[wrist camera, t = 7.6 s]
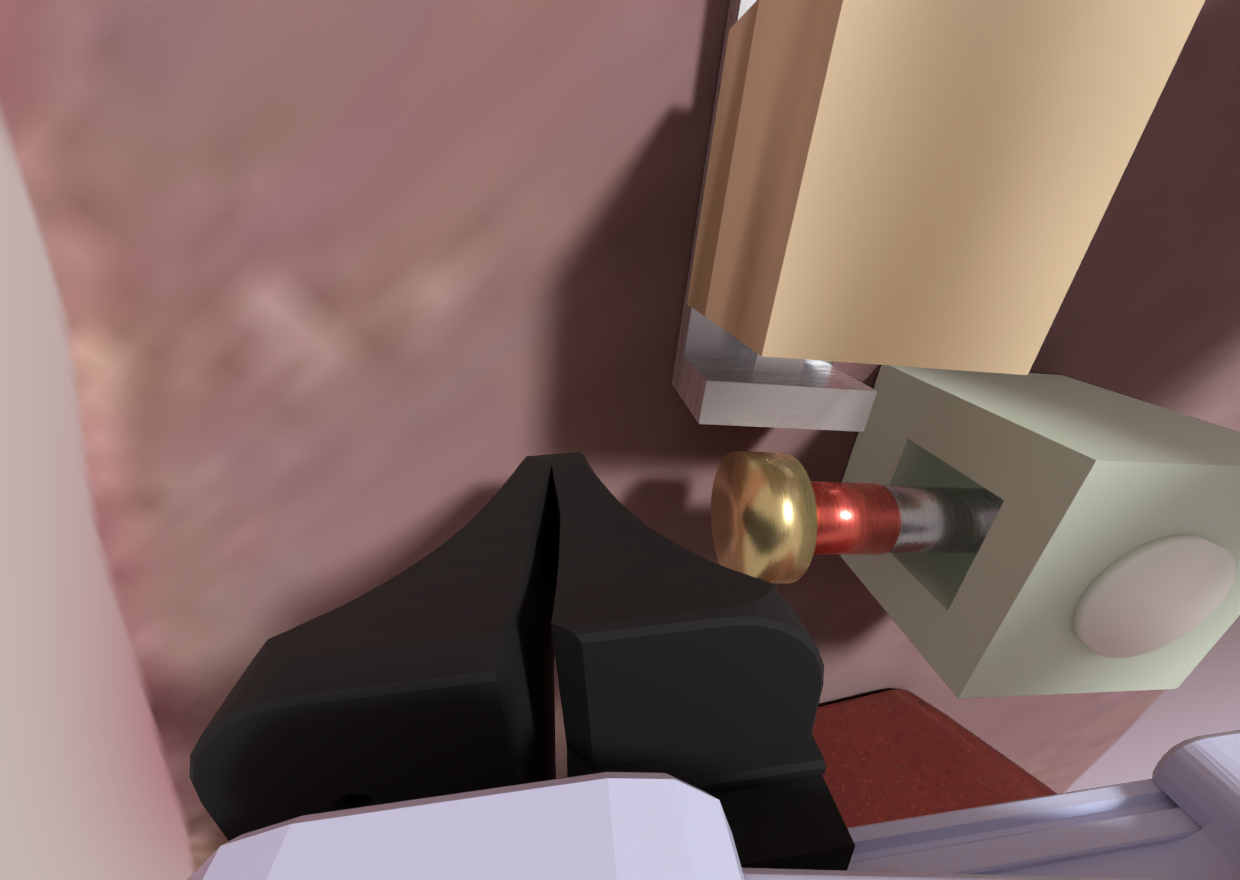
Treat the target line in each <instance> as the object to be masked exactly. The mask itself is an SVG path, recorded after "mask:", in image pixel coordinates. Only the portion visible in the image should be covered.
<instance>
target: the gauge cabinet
mask: <svg viewBox="0 0 1240 880" xmlns="http://www.w3.org/2000/svg"><path fill="white" fill-rule="evenodd" d="M873 389H874V390H876V391H877V394H876V397H875V400H874V403H873V406H872V409H871V412H870V415H869V418H868V421H867V424H866V427H865V429H864V432H858V435H857V438H856V441H855V444H854V447H853V450H852V453H851V456H850V459H849V462H848V465H847V468H846V471H845V474H844V477H843V480H842V482H852V483H877V484H880V485H883V486H917V487H951V488H985V489H987V490H989V491H990V492H992V493H993V494H995V495H997V496H998V497H1000V498H1001V499H1003V500H1004V502H1003V504H1002V506H1001V508H1000V510H999V512H998V514H997V515H996V517H995V519H994V521H993V523H992V525H991V527H990V529H989V531H988V533H987V535H986V537H985V539H984V541H983V543H982V545H981V547H980V549H979V551H978V553H885V554H881V555H852V554H839V555H840V556H841V558H842V559H843V560H844V561H845V562H846V564H847V565H848V566H849V567H850V568H851V570H852V571H853V572H854V573H855V574H856V576H857V577H858V578H859V579H860V581H861V582H862V583H863V584H864V585H865V587H866V588H867V589H868V590H869V591H870V593H871V594H872V595H873V596H874V597H875V599H876V600H877V601H878V602H879V604H880V605H881V606H882V607H883V608H884V610H885V611H886V612H887V613H888V614H889V616H890V617H891V618H892V619H893V621H894V622H895V623H896V624H897V625H898V627H899V628H900V629H901V630H902V631H903V633H904V634H905V635H906V636H907V637H908V639H909V640H910V641H911V642H912V644H913V645H914V646H915V647H916V648H917V650H918V651H919V652H920V653H921V654H922V656H923V657H924V658H925V659H926V660H927V662H928V663H929V664H930V665H931V667H932V668H933V669H934V670H935V671H936V673H937V674H938V675H939V676H940V677H941V679H942V680H943V681H944V682H945V684H946V685H947V686H948V687H949V688H950V690H951V691H952V692H953V693H954V694H955V696H956V697H957V698H958V699H959V698H982V697H1004V696H1026V695H1048V694H1071V693H1093V692H1115V691H1137V690H1160V689H1177V688H1178V687H1179V686H1180V684H1181V683H1182V682H1183V681H1184V680H1185V679H1186V677H1187V676H1188V675H1189V674H1190V673H1191V672H1192V670H1193V669H1194V668H1195V667H1196V666H1197V664H1198V663H1199V662H1200V661H1201V660H1202V659H1203V657H1204V656H1205V655H1206V654H1207V653H1208V652H1209V650H1210V649H1211V648H1212V647H1213V646H1214V645H1215V643H1216V642H1217V641H1218V640H1219V639H1220V637H1221V636H1222V635H1223V634H1224V633H1225V632H1226V630H1227V629H1228V628H1229V627H1230V626H1231V624H1232V623H1233V622H1234V621H1235V620H1236V619H1237V618H1238V616H1239V615H1240V432H1238V431H1235V430H1231V429H1228V428H1225V427H1222V426H1219V425H1216V424H1213V423H1210V422H1207V421H1203V420H1200V419H1197V418H1194V417H1191V416H1188V415H1185V414H1182V413H1178V412H1175V411H1172V410H1169V409H1166V408H1163V407H1160V406H1157V405H1154V404H1150V403H1147V402H1144V401H1141V400H1138V399H1135V398H1132V397H1129V396H1125V395H1122V394H1119V393H1116V392H1113V391H1110V390H1107V389H1104V388H1100V387H1097V386H1094V385H1091V384H1088V383H1085V382H1082V381H1079V380H1076V379H1072V378H1069V377H1066V376H1063V375H1053V374H1039V373H1028V375H1018V374H1004V373H990V372H976V371H962V370H948V369H933V368H919V367H905V366H891V365H881V367H880V370H879V373H878V376H877V379H876V382H875V385H874V388H873Z"/></svg>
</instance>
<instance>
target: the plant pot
mask: <svg viewBox="0 0 1240 880" xmlns="http://www.w3.org/2000/svg"><path fill="white" fill-rule="evenodd" d="M812 735H813V737H814V739H815V741H816V743H817V745H818V747H819V749H820V751H821V753H822V755H823V757H824V759H825V764H826V771H825V774H822V776H823V778H824V780H825V782H826V784H827V786H828V788H829V791H830V793H831V795H832V797H833V799H834V801H835V803H836V805H837V808H838V810H839V812H840V814H841V816H842V818H843V820H844V822H845V825H846V827H847V828H851V827H857V826H863V825H869V824H875V823H882V822H888V821H894V820H900V819H906V818H912V817H919V816H925V815H931V814H937V813H943V812H949V811H956V810H962V809H968V808H974V807H980V806H987V805H993V804H999V803H1005V802H1011V801H1017V800H1024V799H1030V798H1036V797H1042V796H1048V795H1055V794H1057V793H1055V792H1054V791H1053V790H1051V789H1050V788H1049V787H1047V786H1046V785H1045V784H1043V783H1042V782H1040V781H1039V780H1038V779H1036V778H1035V777H1033V776H1032V775H1031V774H1029V773H1028V772H1026V771H1025V770H1024V769H1022V768H1021V767H1019V766H1018V765H1017V764H1015V763H1014V762H1012V761H1011V760H1010V759H1008V758H1007V757H1006V756H1004V755H1003V754H1001V753H1000V752H998V751H997V750H996V749H994V748H993V747H991V746H990V745H988V744H987V743H986V742H984V741H983V740H981V739H980V738H978V737H977V736H976V735H974V734H973V733H971V732H970V731H968V730H967V729H966V728H964V727H963V726H961V725H960V724H958V723H957V722H956V721H954V720H953V719H952V718H950V717H949V716H947V715H946V714H944V713H943V712H941V711H940V710H938V709H936V708H935V707H933V706H932V705H930V704H929V703H927V702H925V701H924V700H922V699H921V698H919V697H918V696H916V695H915V694H913V693H911V692H910V691H908V690H901V689H894V690H887V691H883V692H879V693H875V694H871V695H867V696H863V697H859V698H855V699H850V700H846V701H842V702H837V703H833V704H829V705H825V706H821V707H818V709H817V714H816V718H815V723H814V727H813V732H812Z"/></svg>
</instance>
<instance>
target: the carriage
mask: <svg viewBox="0 0 1240 880" xmlns="http://www.w3.org/2000/svg"><path fill="white" fill-rule="evenodd" d="M1204 2H1205V0H757V1H756V2H755V3H754V4H753V5H752V6H751V7H750V8H749V9H748V10H747V11H746V12H745V14H744V15H743V16H742V17H741V18H740V19H739V20H738V21H737V22H736V23H735V24H734V25H733V26H732V27H731V29H730V30H729V34H728V40H727V47H726V53H725V60H724V66H723V72H722V79H721V85H720V92H719V98H718V105H717V111H716V118H715V124H714V131H713V137H712V144H711V150H710V157H709V163H708V169H707V176H706V182H705V189H704V195H703V202H702V208H701V215H700V221H699V228H698V234H697V241H696V247H695V253H694V260H693V266H692V273H691V279H690V286H689V292H688V299H687V304H688V305H689V306H691V307H692V308H693V309H695V310H696V311H698V312H699V313H701V314H702V315H703V316H705V317H706V318H708V319H709V320H711V321H712V322H713V323H715V324H716V325H718V326H719V327H721V328H722V329H723V330H725V331H726V332H728V333H729V334H731V335H732V336H733V337H735V338H736V339H738V340H739V341H741V342H742V343H743V344H745V345H746V346H748V347H749V348H751V349H752V350H753V351H755V352H756V353H758V354H759V355H761V356H764V357H778V358H793V359H807V360H821V361H835V362H849V363H863V364H877V365H891V366H905V367H919V368H933V369H948V370H962V371H976V372H990V373H1004V374H1018V375H1028V373H1029V371H1030V369H1031V367H1032V365H1033V363H1034V361H1035V359H1036V356H1037V354H1038V352H1039V350H1040V348H1041V346H1042V344H1043V342H1044V340H1045V337H1046V335H1047V333H1048V331H1049V329H1050V327H1051V325H1052V323H1053V321H1054V318H1055V316H1056V314H1057V312H1058V310H1059V308H1060V306H1061V304H1062V302H1063V299H1064V297H1065V295H1066V293H1067V291H1068V289H1069V287H1070V285H1071V283H1072V280H1073V278H1074V276H1075V274H1076V272H1077V270H1078V268H1079V266H1080V264H1081V261H1082V259H1083V257H1084V255H1085V253H1086V251H1087V249H1088V247H1089V245H1090V242H1091V240H1092V238H1093V236H1094V234H1095V232H1096V230H1097V228H1098V226H1099V223H1100V221H1101V219H1102V217H1103V215H1104V213H1105V211H1106V209H1107V207H1108V205H1109V202H1110V200H1111V198H1112V196H1113V194H1114V192H1115V190H1116V188H1117V186H1118V183H1119V181H1120V179H1121V177H1122V175H1123V173H1124V171H1125V169H1126V167H1127V164H1128V162H1129V160H1130V158H1131V156H1132V154H1133V152H1134V150H1135V148H1136V145H1137V143H1138V141H1139V139H1140V137H1141V135H1142V133H1143V131H1144V129H1145V126H1146V124H1147V122H1148V120H1149V118H1150V116H1151V114H1152V112H1153V110H1154V107H1155V105H1156V103H1157V101H1158V99H1159V97H1160V95H1161V93H1162V91H1163V88H1164V86H1165V84H1166V82H1167V80H1168V78H1169V76H1170V74H1171V72H1172V69H1173V67H1174V65H1175V63H1176V61H1177V59H1178V57H1179V55H1180V53H1181V50H1182V48H1183V46H1184V44H1185V42H1186V40H1187V38H1188V36H1189V34H1190V31H1191V29H1192V27H1193V25H1194V23H1195V21H1196V19H1197V17H1198V15H1199V12H1200V10H1201V8H1202V6H1203V4H1204Z"/></svg>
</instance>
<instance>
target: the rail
mask: <svg viewBox="0 0 1240 880" xmlns="http://www.w3.org/2000/svg"><path fill="white" fill-rule="evenodd" d="M756 1H757V0H730V2H729V9H728V16H727V22H726V29H725V35H724V42H723V48H722V55H721V62H720V68H719V75H718V81H717V88H716V94H715V101H714V108H713V114H712V121H711V127H710V134H709V141H708V147H707V154H706V160H705V167H704V173H703V180H702V187H701V193H700V200H699V206H698V213H697V219H696V226H695V233H694V239H693V246H692V252H691V259H690V265H689V272H688V279H687V285H686V292H685V298H684V305H683V311H682V318H681V325H680V331H679V338H678V344H677V351H676V357H675V364H674V371H673V377H672V385H673V386H674V388H675V389H676V391H677V392H678V394H679V395H680V397H681V398H682V400H683V401H684V403H685V404H686V406H687V407H688V409H689V410H690V412H691V413H692V415H693V416H694V418H695V419H696V421H697V422H698V424H711V425H732V426H753V427H774V428H795V429H816V430H837V431H858V432H864V429H865V427H866V424H867V421H868V418H869V415H870V412H871V409H872V406H873V403H874V400H875V397H876V394H877V391H876V390H874V389H873V388H871V387H869V386H867V385H865V384H864V383H862V382H860V381H858V380H856V379H855V378H853V377H851V376H849V375H847V374H846V373H844V372H842V371H840V370H838V369H837V368H835V367H833V366H832V363H833V361H821V360H807V359H793V358H778V357H764V356H761V355H759V354H758V353H756V352H755V351H753V350H752V349H751V348H749V347H748V346H746V345H745V344H743V343H742V342H741V341H739V340H738V339H736V338H735V337H733V336H732V335H731V334H729V333H728V332H726V331H725V330H723V329H722V328H721V327H719V326H718V325H716V324H715V323H713V322H712V321H711V320H709V319H708V318H706V317H705V316H703V315H702V314H701V313H699V312H698V311H696V310H695V309H693V308H692V307H691V306H689V305H688V304H687V299H688V292H689V286H690V279H691V273H692V266H693V260H694V253H695V247H696V241H697V234H698V228H699V221H700V215H701V208H702V202H703V195H704V189H705V182H706V176H707V169H708V163H709V157H710V150H711V144H712V137H713V131H714V124H715V118H716V111H717V105H718V98H719V92H720V85H721V79H722V72H723V66H724V60H725V53H726V47H727V40H728V34H729V30H730V29H731V27H732V26H733V25H734V24H735V23H736V22H737V21H738V20H739V19H740V18H741V17H742V16H743V15H744V14H745V12H746V11H747V10H748V9H749V8H750V7H751V6H752V5H753V4H754V3H755V2H756Z"/></svg>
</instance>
